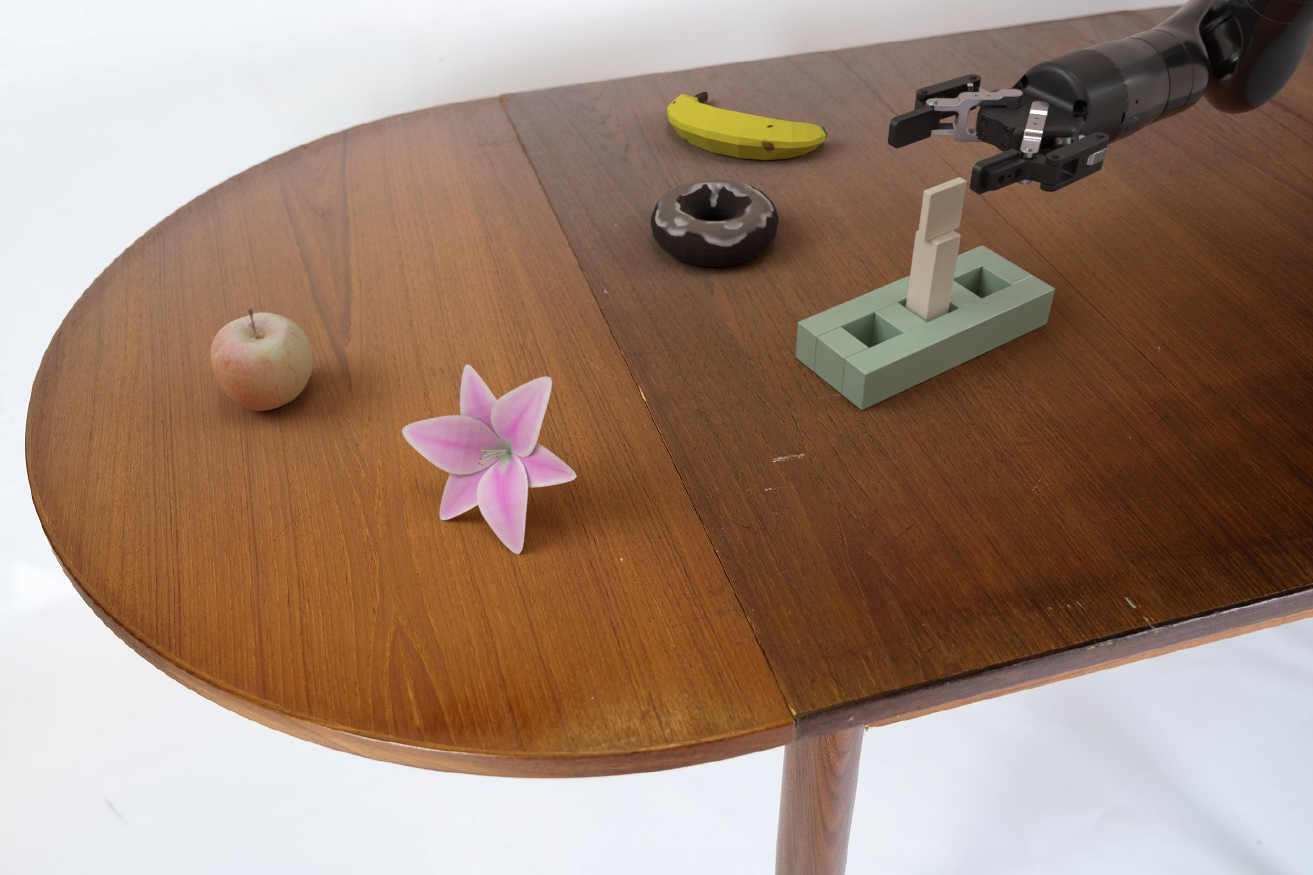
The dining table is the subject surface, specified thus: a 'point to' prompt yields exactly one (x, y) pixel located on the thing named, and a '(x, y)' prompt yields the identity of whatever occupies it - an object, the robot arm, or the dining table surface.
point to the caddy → (921, 329)
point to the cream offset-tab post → (936, 250)
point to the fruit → (261, 360)
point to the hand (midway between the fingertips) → (931, 156)
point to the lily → (491, 453)
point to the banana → (741, 131)
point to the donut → (714, 222)
